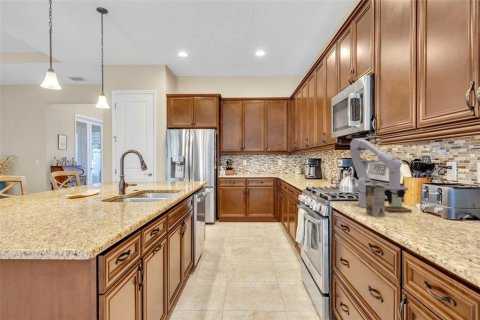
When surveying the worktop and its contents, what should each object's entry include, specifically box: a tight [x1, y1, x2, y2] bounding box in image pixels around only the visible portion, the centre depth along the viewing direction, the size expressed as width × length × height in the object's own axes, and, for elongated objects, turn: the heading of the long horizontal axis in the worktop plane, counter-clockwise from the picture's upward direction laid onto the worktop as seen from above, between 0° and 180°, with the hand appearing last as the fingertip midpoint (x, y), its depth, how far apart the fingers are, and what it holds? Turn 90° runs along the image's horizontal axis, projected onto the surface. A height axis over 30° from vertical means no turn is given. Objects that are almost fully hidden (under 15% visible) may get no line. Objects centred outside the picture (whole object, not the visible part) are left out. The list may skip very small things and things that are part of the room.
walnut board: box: [385, 205, 413, 214], centre depth 153 cm, size 12×12×2 cm
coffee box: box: [365, 184, 386, 217], centre depth 143 cm, size 9×6×16 cm
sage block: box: [387, 195, 403, 207], centre depth 153 cm, size 5×5×5 cm
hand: (394, 202), depth 153 cm, fingers closed on sage block, 5 cm apart
